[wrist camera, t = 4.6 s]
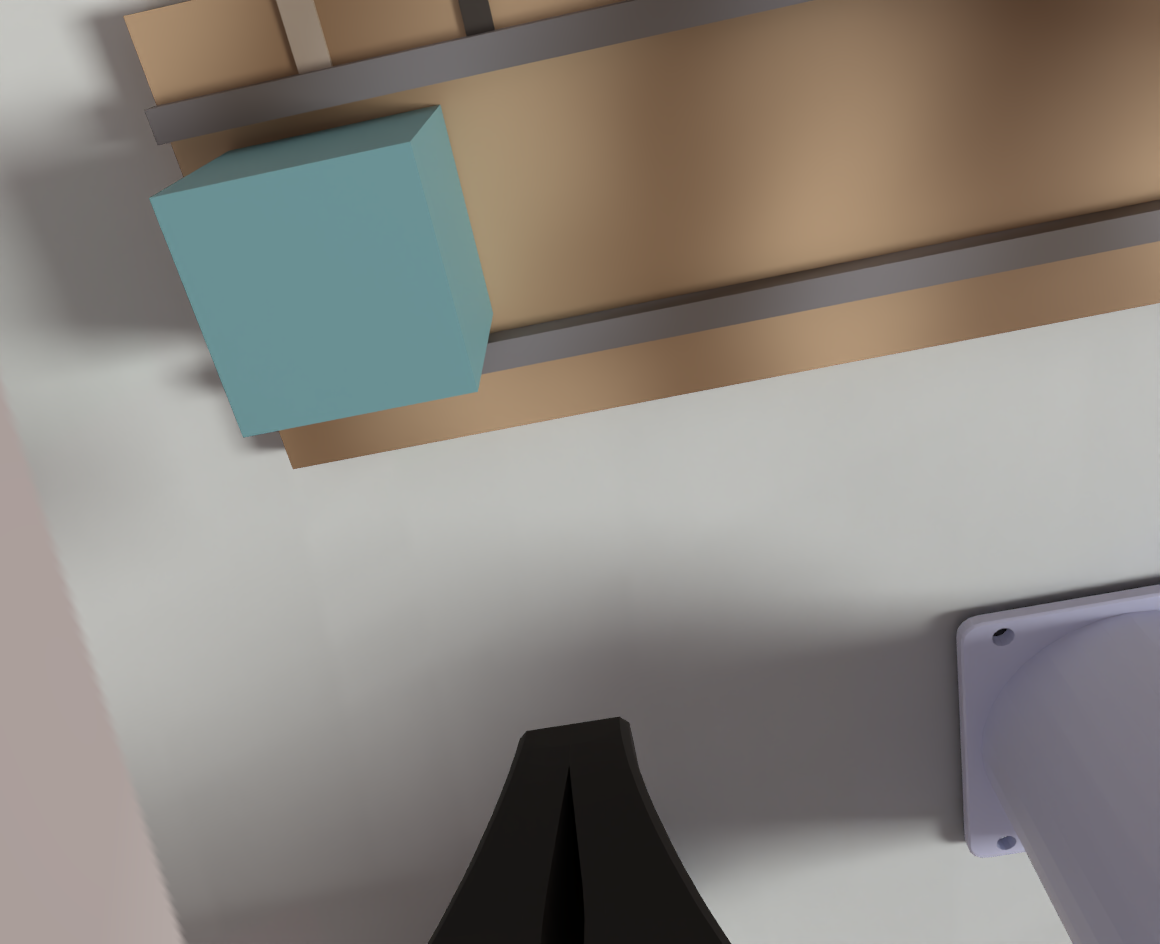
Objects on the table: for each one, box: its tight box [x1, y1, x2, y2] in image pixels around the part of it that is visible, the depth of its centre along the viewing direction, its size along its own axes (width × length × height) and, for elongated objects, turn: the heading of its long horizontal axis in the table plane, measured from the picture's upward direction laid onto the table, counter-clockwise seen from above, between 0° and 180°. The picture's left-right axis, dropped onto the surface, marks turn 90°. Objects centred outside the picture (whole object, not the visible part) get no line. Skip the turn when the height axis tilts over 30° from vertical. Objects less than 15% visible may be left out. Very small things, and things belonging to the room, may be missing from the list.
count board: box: [123, 0, 1160, 469], centre depth 19 cm, size 19×9×2 cm, turn 101°
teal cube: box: [149, 105, 493, 438], centre depth 18 cm, size 4×4×4 cm
